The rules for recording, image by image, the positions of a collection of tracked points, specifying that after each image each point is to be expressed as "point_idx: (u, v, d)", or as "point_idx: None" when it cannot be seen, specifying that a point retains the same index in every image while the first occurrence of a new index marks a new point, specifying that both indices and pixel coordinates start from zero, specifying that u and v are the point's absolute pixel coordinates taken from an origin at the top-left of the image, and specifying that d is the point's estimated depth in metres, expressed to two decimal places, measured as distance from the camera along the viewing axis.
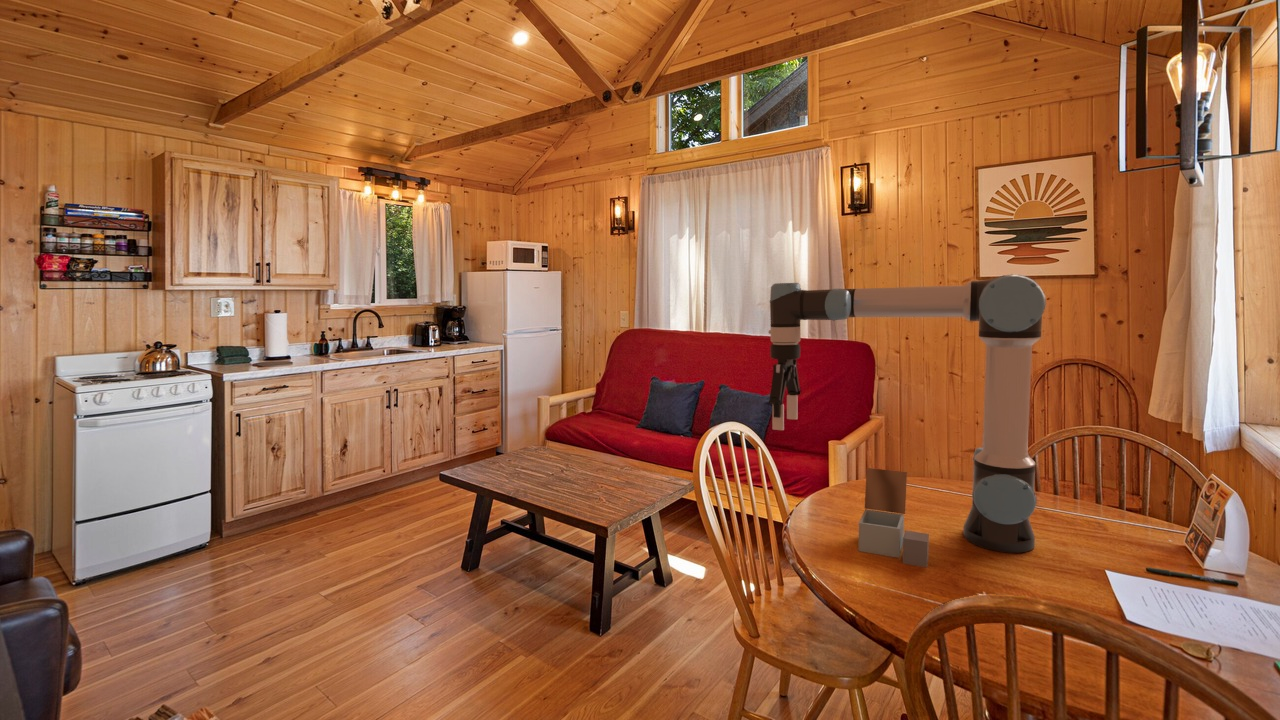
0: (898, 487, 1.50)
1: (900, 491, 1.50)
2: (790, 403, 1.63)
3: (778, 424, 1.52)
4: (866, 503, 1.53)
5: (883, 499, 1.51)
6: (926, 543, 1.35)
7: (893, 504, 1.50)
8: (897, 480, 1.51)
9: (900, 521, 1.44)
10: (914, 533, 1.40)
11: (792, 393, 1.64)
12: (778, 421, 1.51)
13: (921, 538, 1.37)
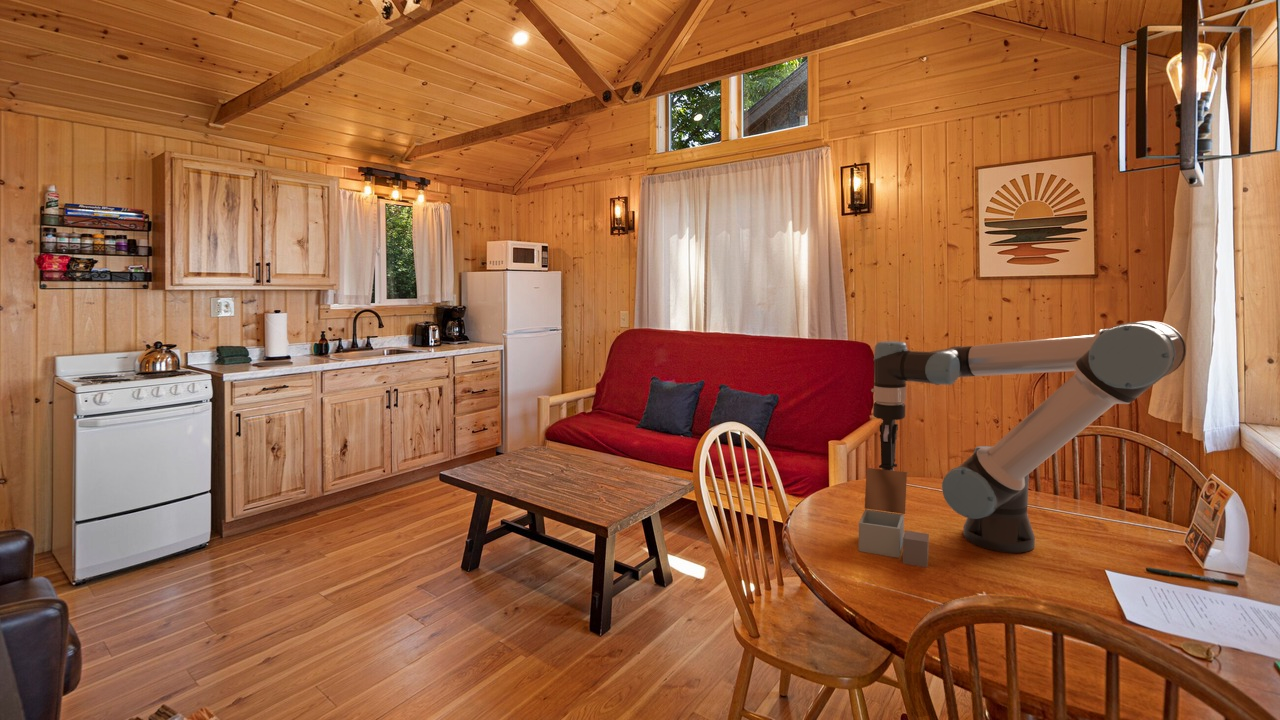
0: (898, 487, 1.50)
1: (900, 491, 1.50)
2: None
3: None
4: (866, 503, 1.53)
5: (883, 499, 1.51)
6: (926, 543, 1.35)
7: (893, 504, 1.50)
8: (897, 480, 1.51)
9: (900, 521, 1.44)
10: (914, 533, 1.40)
11: None
12: None
13: (921, 538, 1.37)
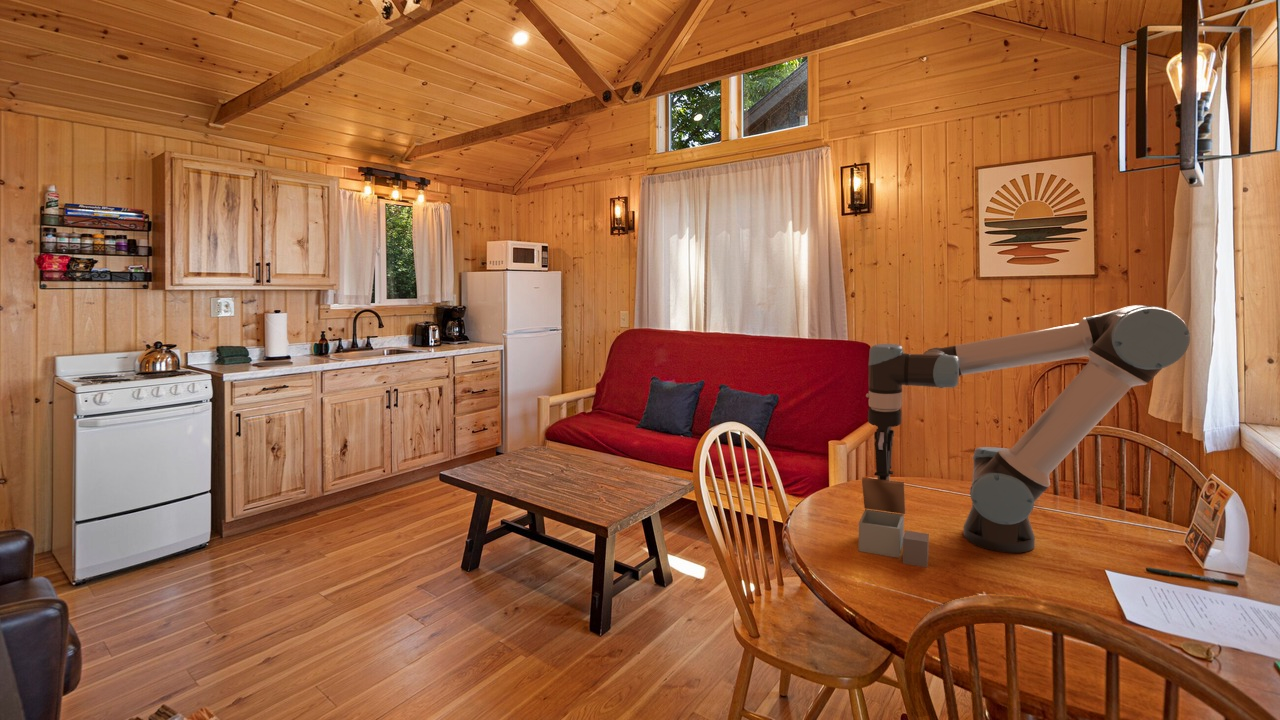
0: (896, 495, 1.46)
1: (898, 498, 1.47)
2: None
3: None
4: (865, 505, 1.52)
5: (882, 503, 1.50)
6: (926, 543, 1.35)
7: (892, 507, 1.49)
8: (894, 490, 1.46)
9: (900, 521, 1.44)
10: (914, 533, 1.40)
11: None
12: None
13: (921, 538, 1.37)
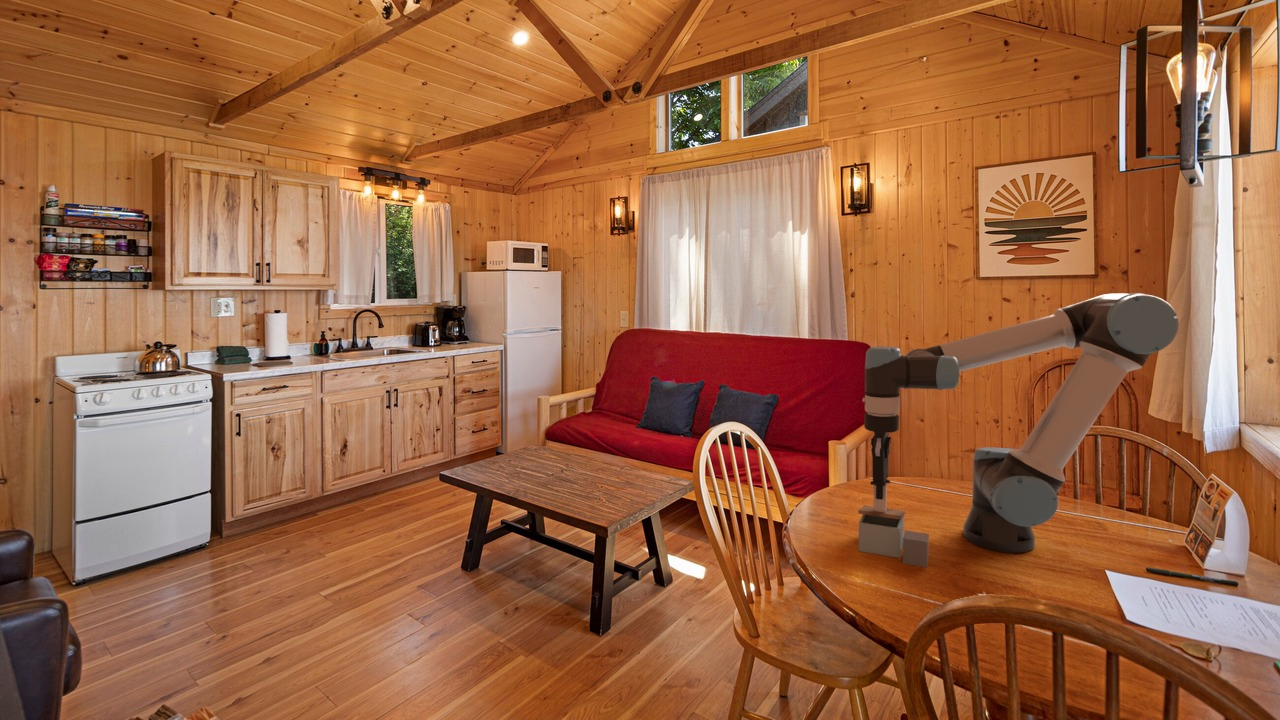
0: None
1: None
2: None
3: (880, 506, 1.43)
4: None
5: None
6: (926, 543, 1.35)
7: None
8: None
9: (900, 521, 1.44)
10: (914, 533, 1.40)
11: None
12: (880, 503, 1.43)
13: (921, 538, 1.37)
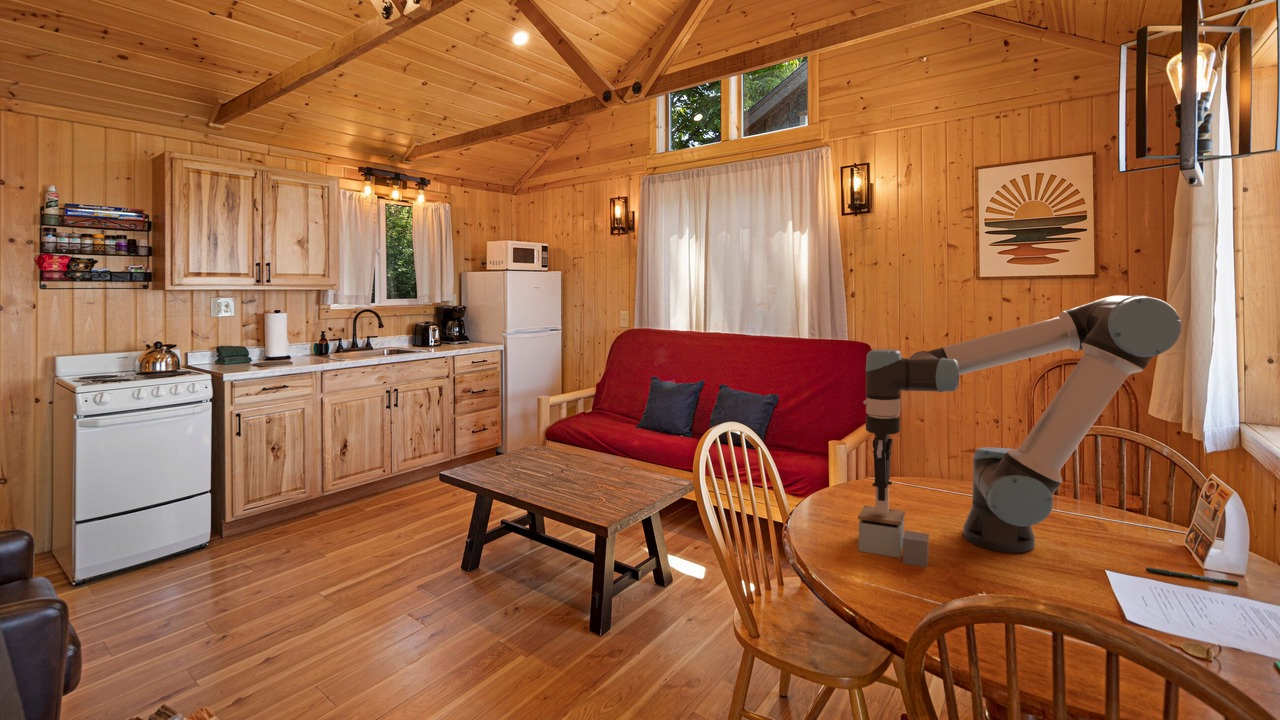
0: None
1: None
2: None
3: (882, 507, 1.44)
4: None
5: None
6: (926, 543, 1.35)
7: None
8: None
9: None
10: (914, 533, 1.40)
11: None
12: (882, 504, 1.44)
13: (921, 538, 1.37)
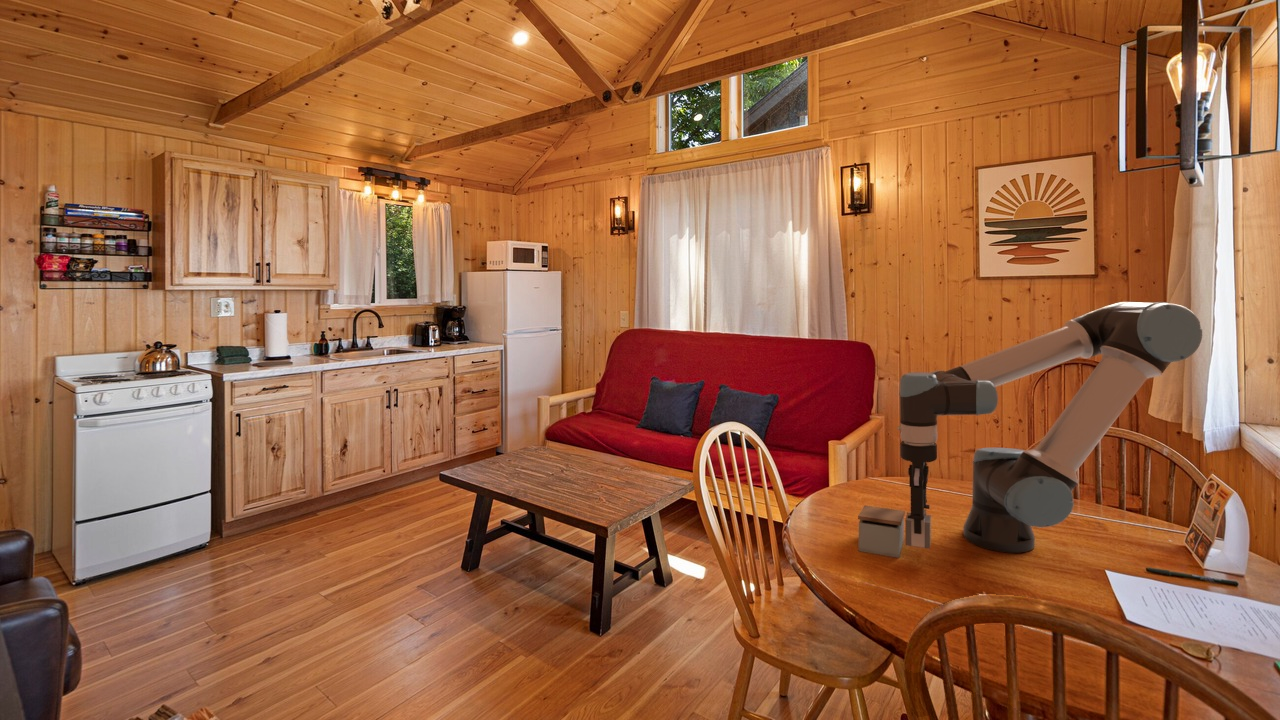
0: None
1: None
2: None
3: (918, 540, 1.35)
4: None
5: None
6: (928, 524, 1.35)
7: None
8: None
9: None
10: None
11: None
12: (919, 537, 1.35)
13: None
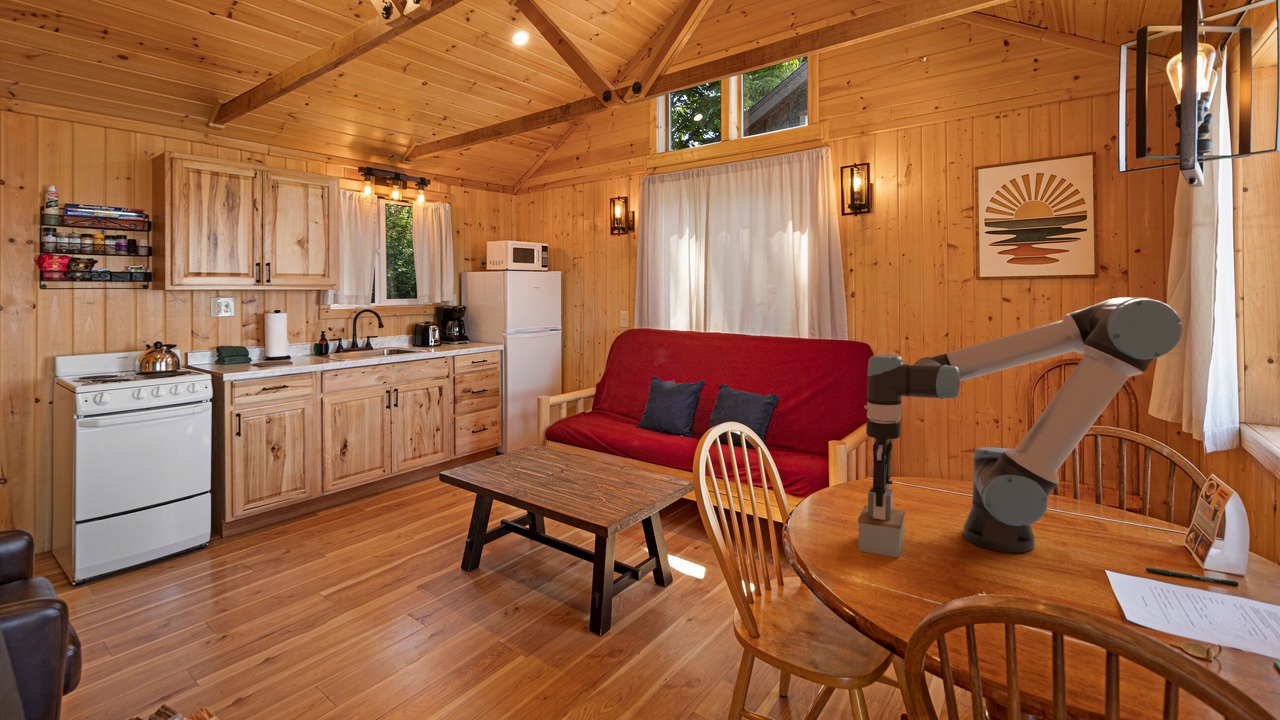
0: None
1: None
2: None
3: (880, 513, 1.43)
4: None
5: None
6: (889, 497, 1.43)
7: None
8: None
9: None
10: None
11: None
12: (880, 510, 1.43)
13: None
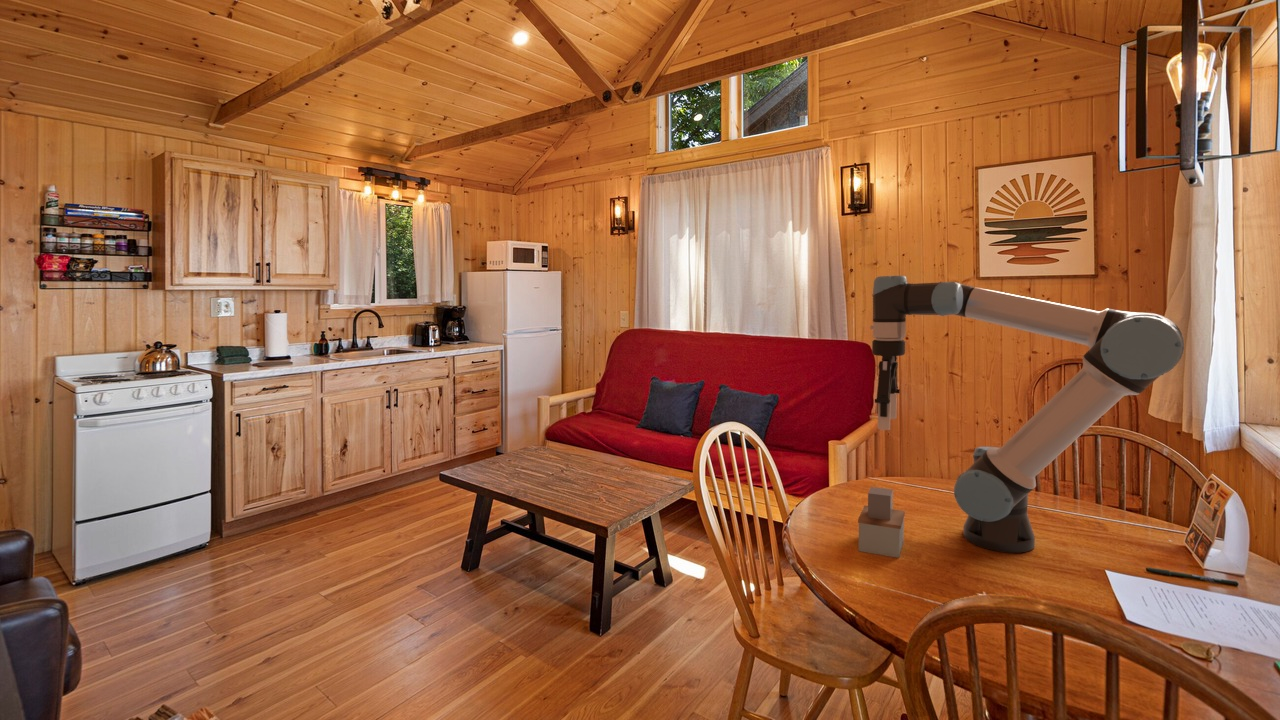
0: None
1: None
2: (889, 402, 1.56)
3: (884, 424, 1.45)
4: None
5: None
6: (889, 497, 1.43)
7: None
8: None
9: None
10: (879, 489, 1.47)
11: (891, 391, 1.56)
12: (884, 421, 1.44)
13: (885, 493, 1.44)
